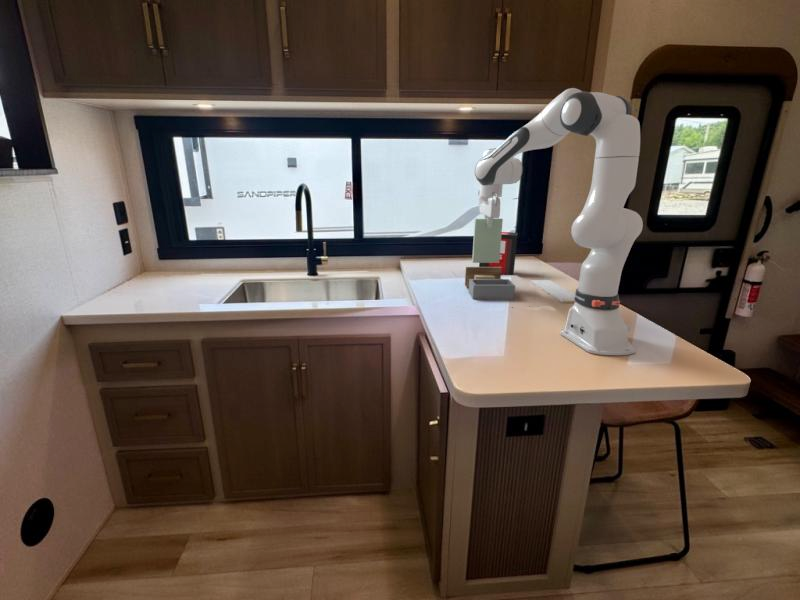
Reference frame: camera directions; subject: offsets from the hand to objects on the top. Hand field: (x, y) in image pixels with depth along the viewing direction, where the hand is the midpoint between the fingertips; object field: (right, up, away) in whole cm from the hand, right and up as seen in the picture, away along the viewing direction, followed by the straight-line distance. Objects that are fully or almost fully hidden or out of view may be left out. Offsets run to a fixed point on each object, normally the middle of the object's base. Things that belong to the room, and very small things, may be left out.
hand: (488, 227), depth 168 cm
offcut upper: (-1, -23, +3) cm, 23 cm away
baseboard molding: (+32, -27, +8) cm, 42 cm away
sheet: (0, -14, +4) cm, 15 cm away
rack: (0, -26, +6) cm, 27 cm away
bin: (0, -29, -4) cm, 30 cm away
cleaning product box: (+12, -17, +36) cm, 42 cm away
